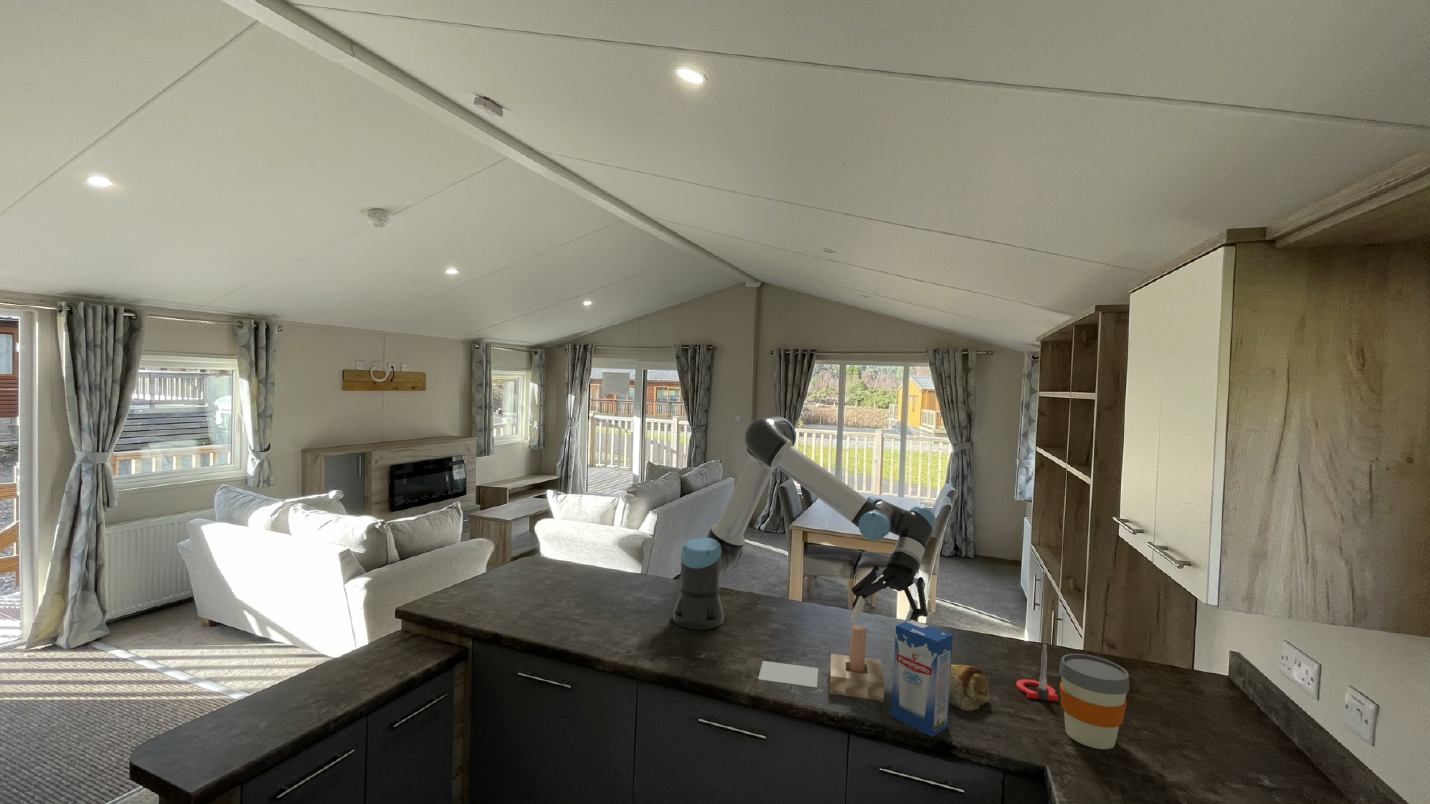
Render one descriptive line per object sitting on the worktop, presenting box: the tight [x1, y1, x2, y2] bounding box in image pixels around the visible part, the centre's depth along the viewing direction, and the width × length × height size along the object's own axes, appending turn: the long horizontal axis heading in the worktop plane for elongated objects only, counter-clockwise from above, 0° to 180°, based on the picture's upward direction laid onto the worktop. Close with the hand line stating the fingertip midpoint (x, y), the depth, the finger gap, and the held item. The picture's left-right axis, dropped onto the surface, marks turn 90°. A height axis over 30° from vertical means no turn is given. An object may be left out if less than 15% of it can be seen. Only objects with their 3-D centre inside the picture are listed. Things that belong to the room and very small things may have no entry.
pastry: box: [949, 664, 990, 712], centre depth 143 cm, size 14×12×8 cm
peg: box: [849, 625, 867, 673], centre depth 145 cm, size 3×3×14 cm
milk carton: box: [890, 620, 954, 738], centre depth 130 cm, size 10×6×20 cm, turn 40°
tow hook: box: [1015, 643, 1059, 702], centre depth 147 cm, size 8×13×9 cm
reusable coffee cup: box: [1058, 653, 1130, 750], centre depth 128 cm, size 13×13×15 cm
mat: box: [757, 660, 819, 688], centre depth 149 cm, size 14×10×1 cm
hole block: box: [829, 653, 885, 703], centre depth 145 cm, size 12×12×4 cm
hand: (877, 628), depth 153 cm, fingers open, 13 cm apart
